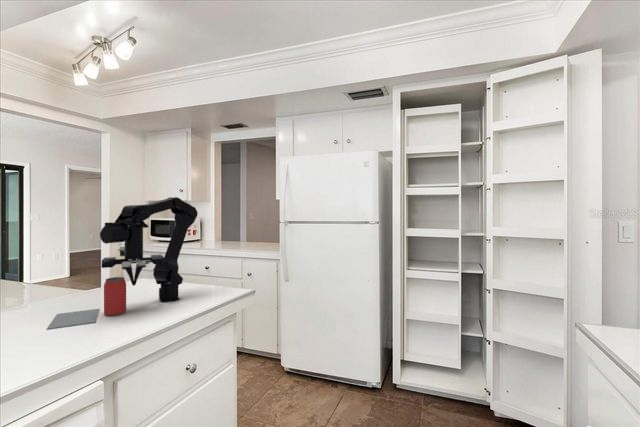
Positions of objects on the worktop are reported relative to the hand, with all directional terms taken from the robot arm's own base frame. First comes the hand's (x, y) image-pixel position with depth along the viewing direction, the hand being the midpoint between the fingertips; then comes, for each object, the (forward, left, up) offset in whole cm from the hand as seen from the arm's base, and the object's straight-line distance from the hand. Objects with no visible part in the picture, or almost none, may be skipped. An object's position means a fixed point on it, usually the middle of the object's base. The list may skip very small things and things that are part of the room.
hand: (133, 285), depth 115 cm
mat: (+17, 0, -9) cm, 19 cm away
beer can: (+6, 0, -9) cm, 11 cm away
